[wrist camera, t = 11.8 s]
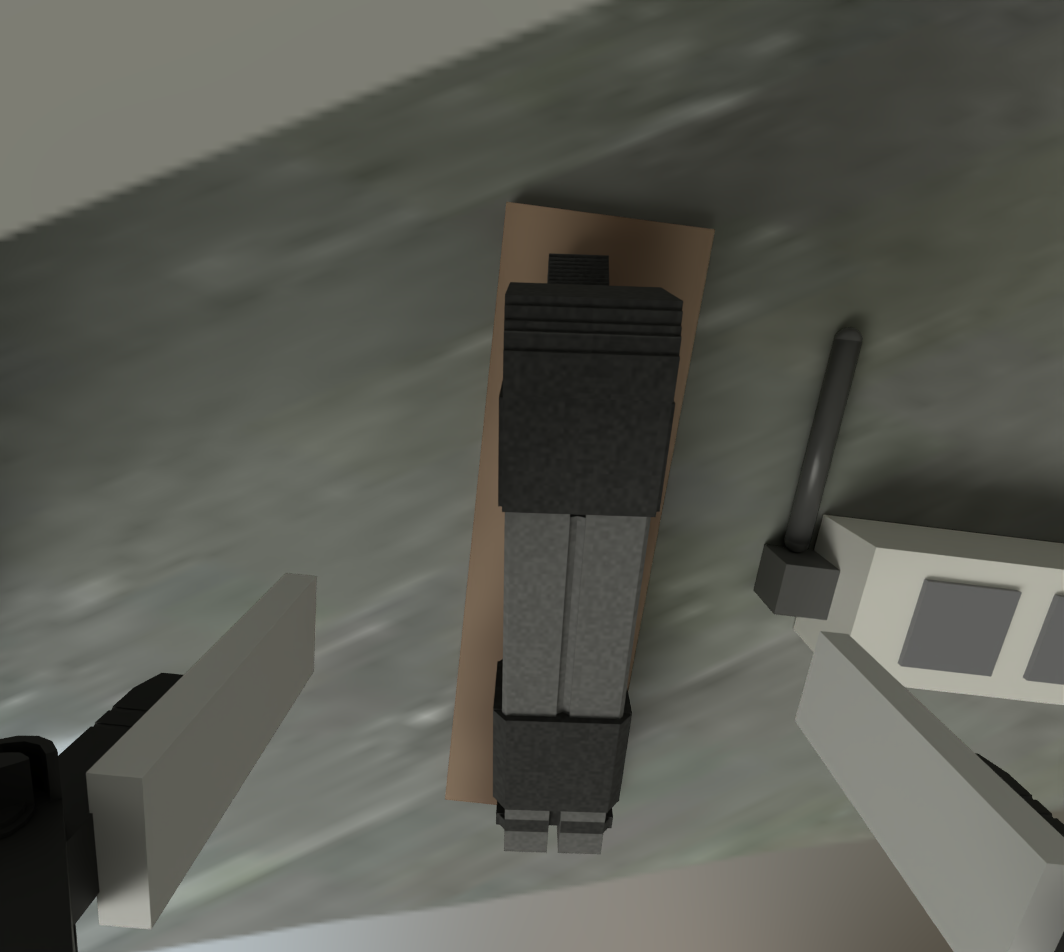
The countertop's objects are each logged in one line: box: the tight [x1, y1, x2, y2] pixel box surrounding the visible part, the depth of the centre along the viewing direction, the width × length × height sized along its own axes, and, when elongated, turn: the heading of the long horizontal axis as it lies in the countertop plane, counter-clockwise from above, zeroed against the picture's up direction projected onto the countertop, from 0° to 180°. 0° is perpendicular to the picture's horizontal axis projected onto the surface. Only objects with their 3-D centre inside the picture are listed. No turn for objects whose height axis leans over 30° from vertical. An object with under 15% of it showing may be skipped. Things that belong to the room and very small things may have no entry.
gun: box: [493, 253, 683, 854], centre depth 20 cm, size 4×20×10 cm, turn 178°
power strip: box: [754, 327, 1064, 705], centre depth 20 cm, size 18×12×4 cm, turn 83°
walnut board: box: [445, 202, 715, 805], centre depth 22 cm, size 7×24×1 cm, turn 173°
